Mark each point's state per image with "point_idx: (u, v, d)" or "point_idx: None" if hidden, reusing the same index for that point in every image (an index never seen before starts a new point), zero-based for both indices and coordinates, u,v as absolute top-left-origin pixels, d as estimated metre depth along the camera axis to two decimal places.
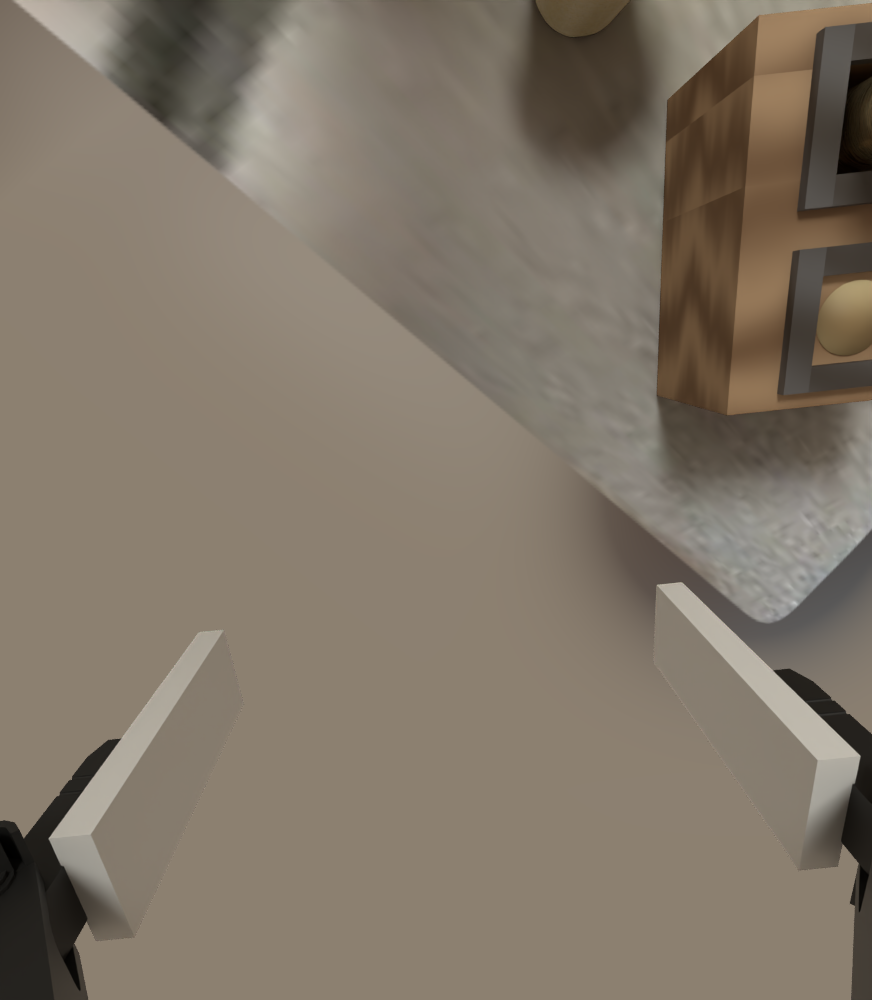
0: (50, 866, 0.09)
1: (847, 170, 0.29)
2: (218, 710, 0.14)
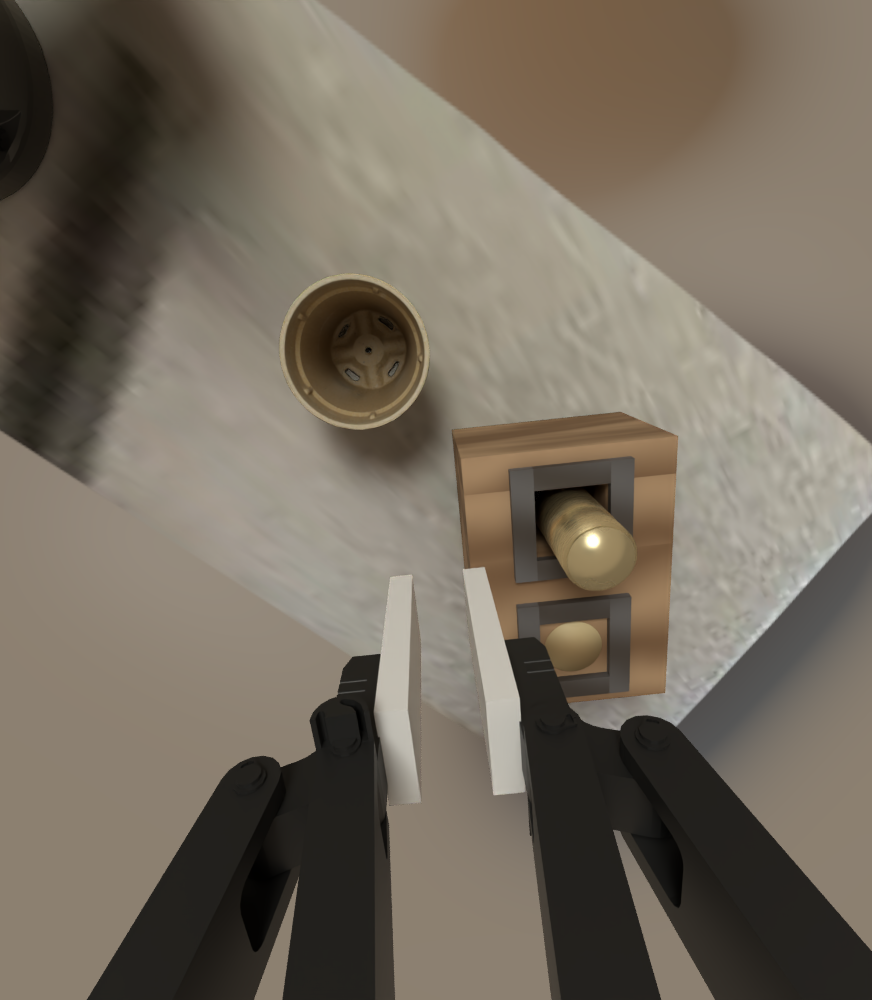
0: None
1: None
2: (417, 641, 0.17)
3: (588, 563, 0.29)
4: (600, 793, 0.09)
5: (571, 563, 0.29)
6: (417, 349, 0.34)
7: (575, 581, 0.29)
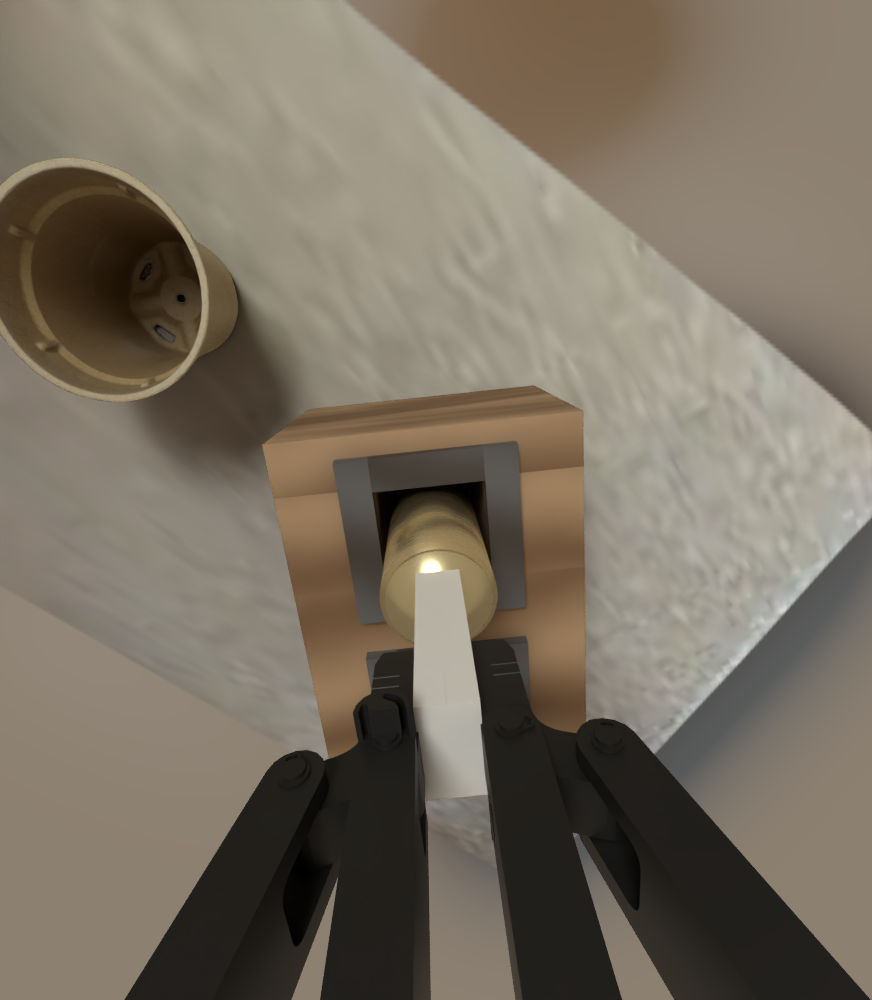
0: None
1: None
2: None
3: None
4: (558, 793, 0.09)
5: (391, 607, 0.18)
6: None
7: (403, 634, 0.19)
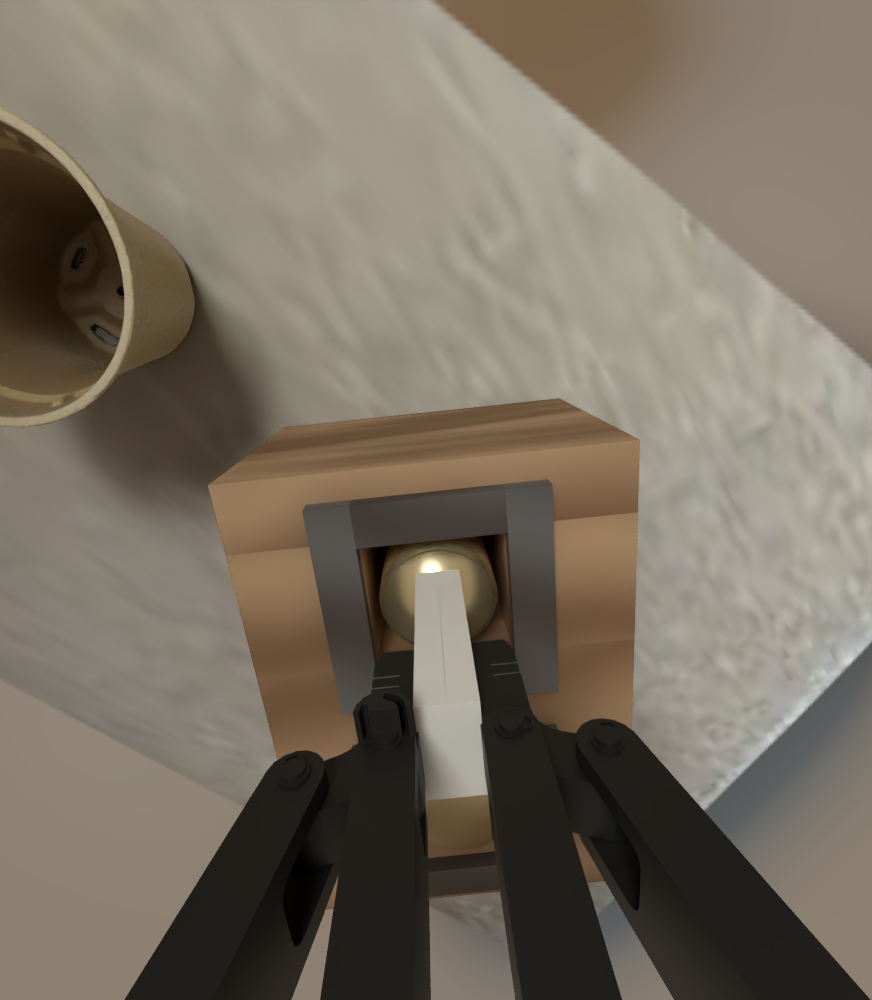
0: None
1: None
2: None
3: None
4: (558, 793, 0.09)
5: (391, 607, 0.18)
6: None
7: (402, 634, 0.19)
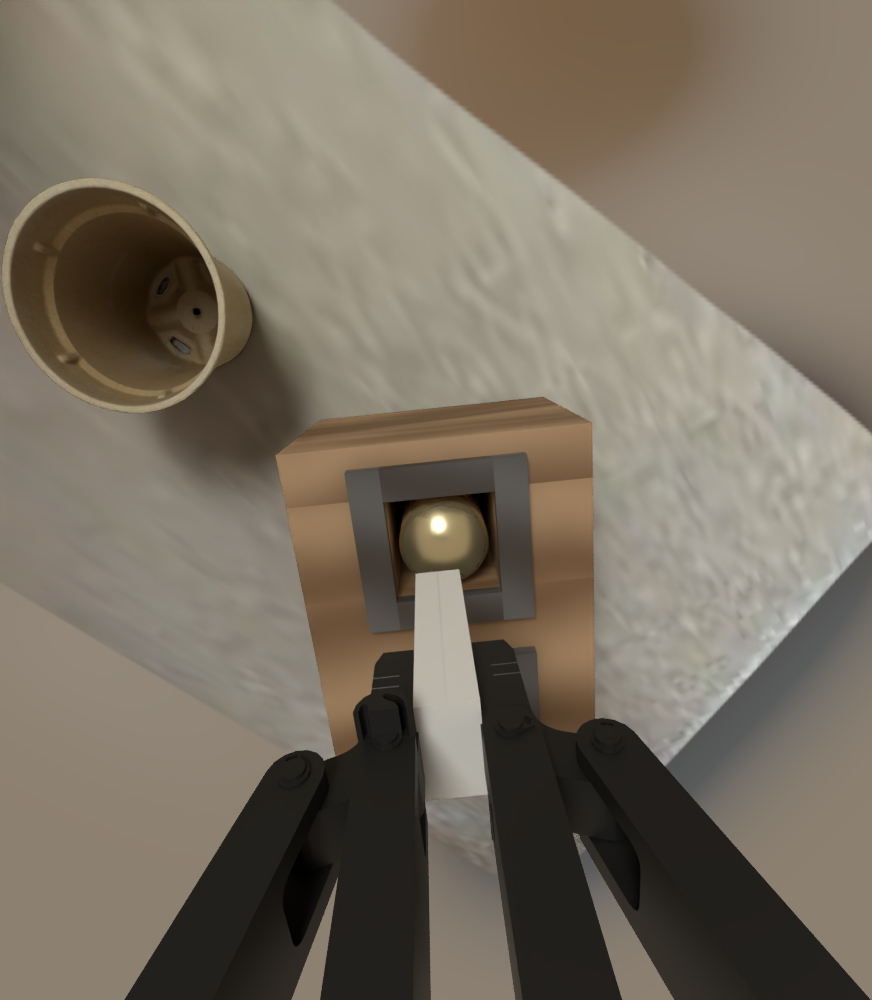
0: None
1: None
2: None
3: (428, 550, 0.24)
4: (558, 793, 0.09)
5: (408, 549, 0.24)
6: None
7: (416, 571, 0.25)
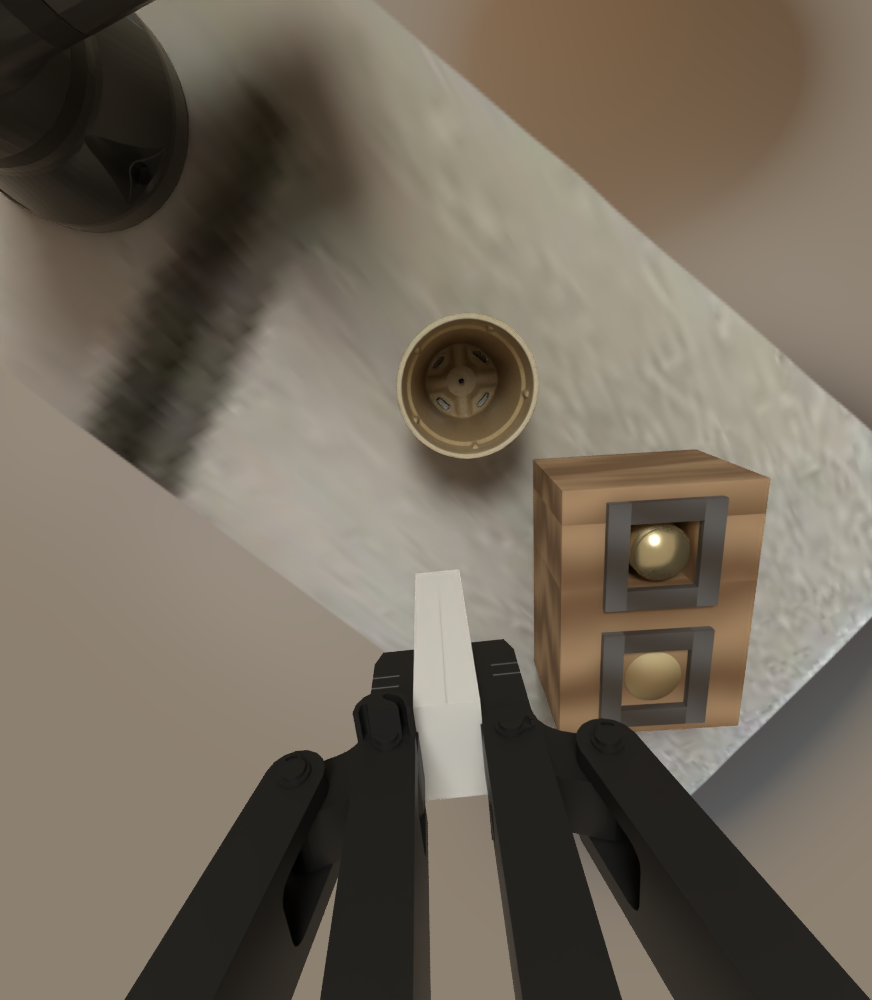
0: None
1: None
2: None
3: (651, 557, 0.36)
4: (558, 793, 0.09)
5: (638, 556, 0.36)
6: (522, 385, 0.36)
7: (639, 571, 0.36)
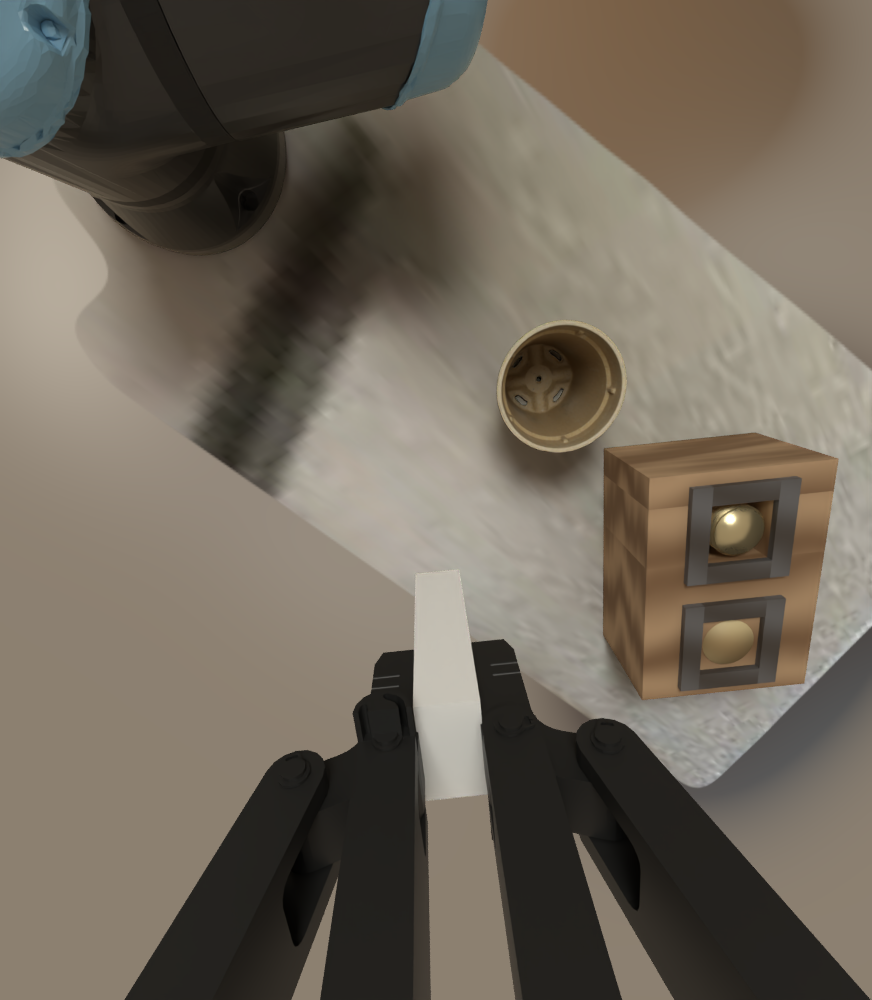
0: None
1: None
2: None
3: (729, 534, 0.40)
4: (558, 793, 0.09)
5: (717, 534, 0.40)
6: (607, 382, 0.39)
7: (718, 548, 0.40)
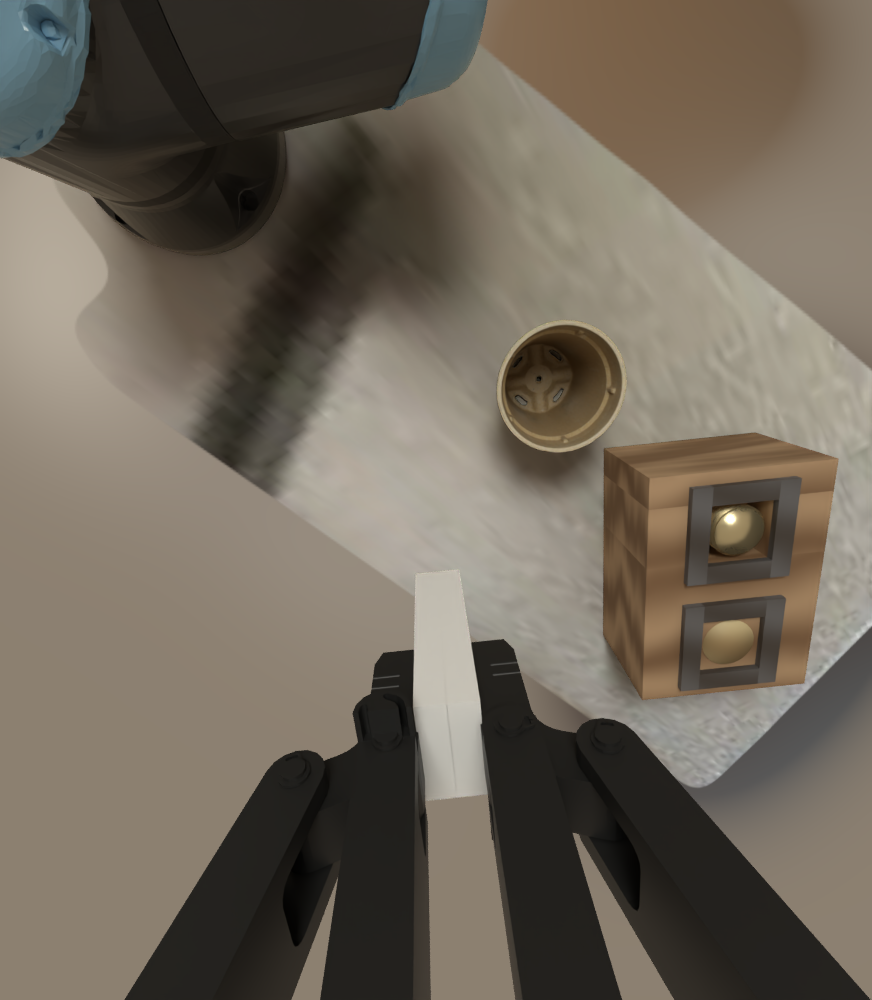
0: None
1: None
2: None
3: (729, 534, 0.40)
4: (558, 793, 0.09)
5: (717, 534, 0.40)
6: (607, 382, 0.39)
7: (718, 548, 0.40)
